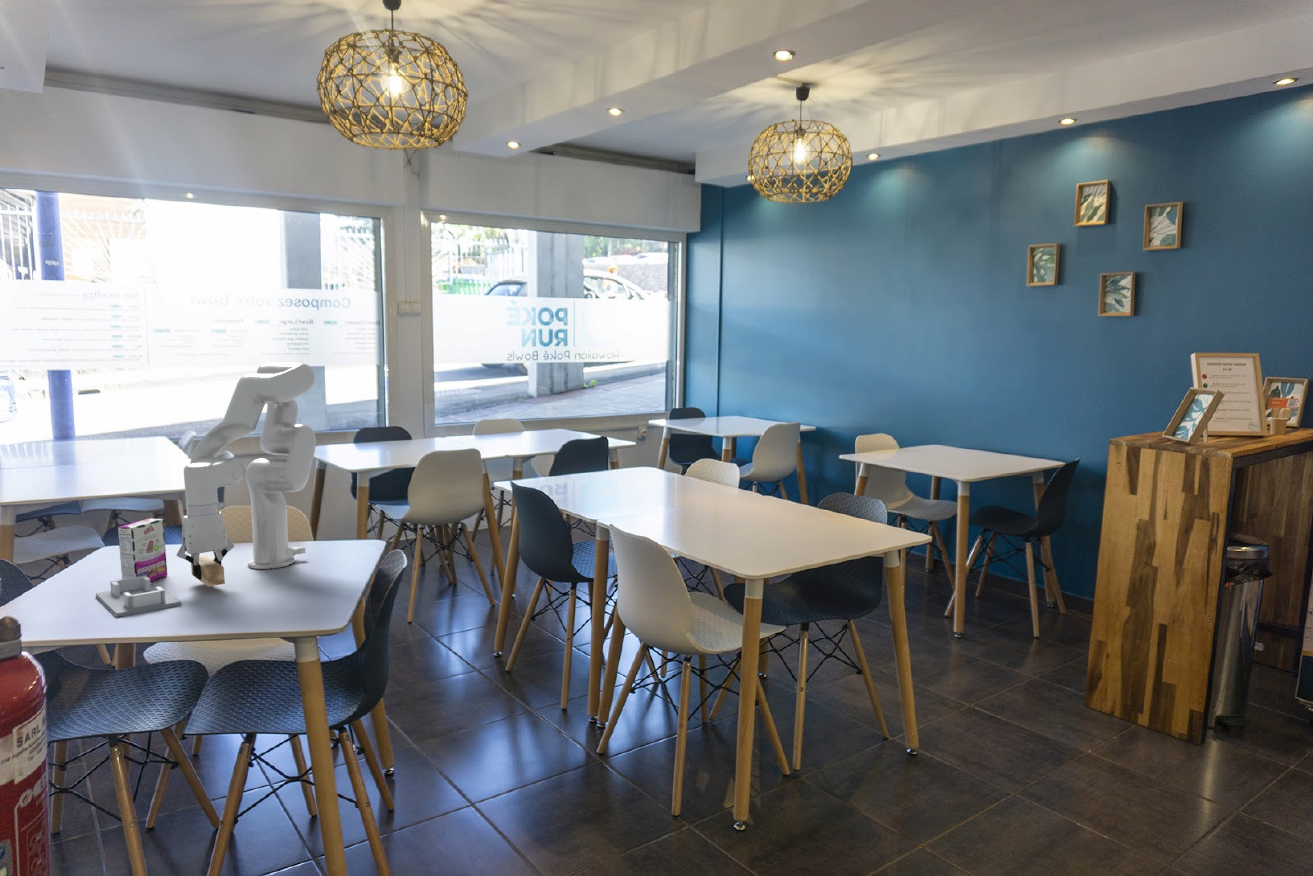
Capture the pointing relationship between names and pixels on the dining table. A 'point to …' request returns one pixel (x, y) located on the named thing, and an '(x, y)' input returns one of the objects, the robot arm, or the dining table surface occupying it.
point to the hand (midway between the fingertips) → (207, 575)
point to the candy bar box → (143, 549)
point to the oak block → (210, 572)
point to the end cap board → (136, 596)
